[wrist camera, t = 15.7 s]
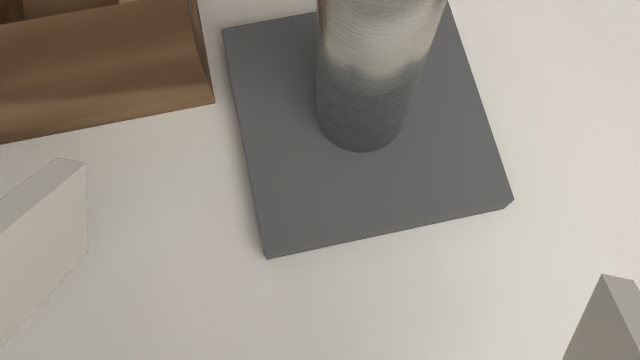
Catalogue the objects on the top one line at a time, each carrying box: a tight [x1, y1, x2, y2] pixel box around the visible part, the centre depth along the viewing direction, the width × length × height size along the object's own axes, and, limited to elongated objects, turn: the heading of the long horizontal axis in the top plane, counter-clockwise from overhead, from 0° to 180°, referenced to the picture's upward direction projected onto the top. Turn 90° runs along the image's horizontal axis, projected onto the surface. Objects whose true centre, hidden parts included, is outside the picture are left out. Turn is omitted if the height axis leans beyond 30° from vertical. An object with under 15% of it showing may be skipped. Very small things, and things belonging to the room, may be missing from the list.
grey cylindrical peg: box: [316, 0, 447, 153], centre depth 19 cm, size 4×4×16 cm
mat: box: [221, 0, 514, 259], centre depth 28 cm, size 11×11×2 cm
